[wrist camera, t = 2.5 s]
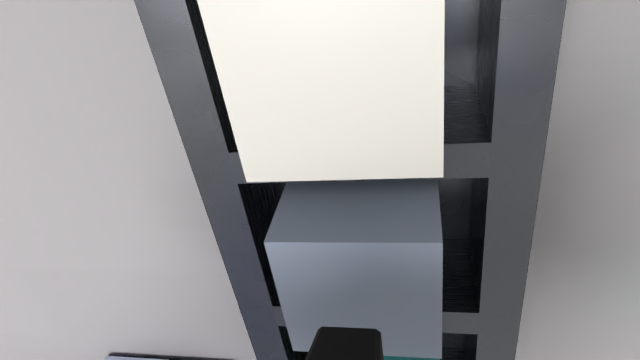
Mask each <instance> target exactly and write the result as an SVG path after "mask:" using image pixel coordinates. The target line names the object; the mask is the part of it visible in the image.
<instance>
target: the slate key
mask: <svg viewBox="0 0 640 360" xmlns="http://www.w3.org/2000/svg"><path fill="white" fill-rule="evenodd" d="M264 245H265V249H266V253H267V256H268V260H269V264H270V267H271V271H272V275H273V279H274V282H275V286H276V290H277V293H278V297H279V301H280V304H281V308H282V312H283V316H284V319H285V323H286V327H287V330H288V334H289V338H290V341H291V345H292V349H293V351H304V352H309V349H310V347H311V345H312V343H313V340H314V338H315V335H316V333H317V330H318V329H319V328H320V327H322V326H324V327H348V328H372V329H377V330H378V331H380V332H381V338H382V347H383V356H399V357H418V358H437V359H442V288H443V239H442V226H441V213H440V201H439V188H438V179H413V180H372V181H331V182H290V183H286V185H285V187H284V190H283V193H282V195H281V198H280V201H279V203H278V206H277V209H276V211H275V214H274V216H273V219H272V222H271V224H270V227H269V230H268V232H267V235H266V238H265V240H264Z"/></svg>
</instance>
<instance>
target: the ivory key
mask: <svg viewBox="0 0 640 360" xmlns="http://www.w3.org/2000/svg"><path fill="white" fill-rule="evenodd" d="M197 2H198V6H199V9H200V13H201V17H202V20H203V24H204V28H205V31H206V35H207V39H208V42H209V46H210V50H211V53H212V57H213V61H214V64H215V68H216V72H217V75H218V79H219V83H220V87H221V90H222V94H223V98H224V101H225V105H226V109H227V112H228V116H229V120H230V123H231V127H232V131H233V134H234V138H235V142H236V145H237V149H238V153H239V156H240V160H241V164H242V167H243V171H244V175H245V179H246V182H280V181H320V180H360V179H400V178H440V177H443V164H444V23H445V0H197Z"/></svg>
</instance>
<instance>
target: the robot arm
mask: <svg viewBox="0 0 640 360" xmlns="http://www.w3.org/2000/svg"><path fill="white" fill-rule="evenodd" d="M105 360H167V359H151V358H134V357H117V356H108V357H106V358H105ZM305 360H384V357H383V347H382V338H381V332H380V331H378V330H377V329H372V328H348V327H324V326H322V327H320V328H319V329H318V330H317V333H316V335H315V338H314V340H313V343H312V345H311V347H310V349H309V352H308V354H307V356H306V358H305Z"/></svg>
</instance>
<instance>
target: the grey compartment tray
mask: <svg viewBox="0 0 640 360" xmlns="http://www.w3.org/2000/svg"><path fill="white" fill-rule="evenodd" d="M134 2H135V5H136V8H137V11H138V13H139V16H140V19H141V22H142V25H143V28H144V31H145V34H146V37H147V40H148V43H149V46H150V48H151V51H152V54H153V57H154V60H155V63H156V66H157V69H158V72H159V75H160V78H161V81H162V83H163V86H164V89H165V92H166V95H167V98H168V101H169V104H170V107H171V110H172V113H173V116H174V118H175V121H176V124H177V127H178V130H179V133H180V136H181V139H182V142H183V145H184V148H185V151H186V153H187V156H188V159H189V162H190V165H191V168H192V171H193V174H194V177H195V180H196V183H197V186H198V188H199V191H200V194H201V197H202V200H203V203H204V206H205V209H206V212H207V215H208V218H209V221H210V224H211V226H212V229H213V232H214V235H215V238H216V241H217V244H218V247H219V250H220V253H221V256H222V259H223V261H224V264H225V267H226V270H227V273H228V276H229V279H230V282H231V285H232V288H233V291H234V294H235V296H236V299H237V302H238V305H239V308H240V311H241V314H242V317H243V320H244V323H245V326H246V329H247V331H248V334H249V337H250V340H251V343H252V346H253V349H254V352H255V355H256V358H257V360H305V358H306V356H307V354H308V352H304V351H293V349H292V345H291V341H290V338H289V334H288V330H287V327H286V323H285V319H284V316H283V312H282V308H281V304H280V301H279V297H278V293H277V290H276V286H275V282H274V279H273V275H272V271H271V267H270V264H269V260H268V256H267V253H266V249H265V245H264V240H265V238H266V235H267V232H268V230H269V227H270V224H271V222H272V219H273V216H274V214H275V211H276V209H277V206H278V203H279V201H280V198H281V195H282V193H283V190H284V187H285V185H286V183H290V182H331V181H372V180H413V179H438V188H439V201H440V213H441V226H442V239H443V288H442V359H440V360H515V354H516V347H517V340H518V333H519V326H520V319H521V312H522V305H523V298H524V291H525V285H526V278H527V271H528V264H529V257H530V250H531V243H532V236H533V229H534V222H535V215H536V208H537V201H538V194H539V188H540V181H541V174H542V167H543V160H544V153H545V146H546V139H547V132H548V125H549V118H550V111H551V104H552V97H553V91H554V84H555V77H556V70H557V63H558V56H559V49H560V42H561V35H562V28H563V21H564V14H565V7H566V0H445V23H444V164H443V177H440V178H400V179H360V180H320V181H280V182H246V179H245V175H244V171H243V167H242V164H241V160H240V156H239V153H238V149H237V145H236V142H235V138H234V134H233V131H232V127H231V123H230V120H229V116H228V112H227V109H226V105H225V101H224V98H223V94H222V90H221V87H220V83H219V79H218V75H217V72H216V68H215V64H214V61H213V57H212V53H211V50H210V46H209V42H208V39H207V35H206V31H205V28H204V24H203V20H202V17H201V13H200V9H199V6H198V2H197V0H134Z"/></svg>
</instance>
